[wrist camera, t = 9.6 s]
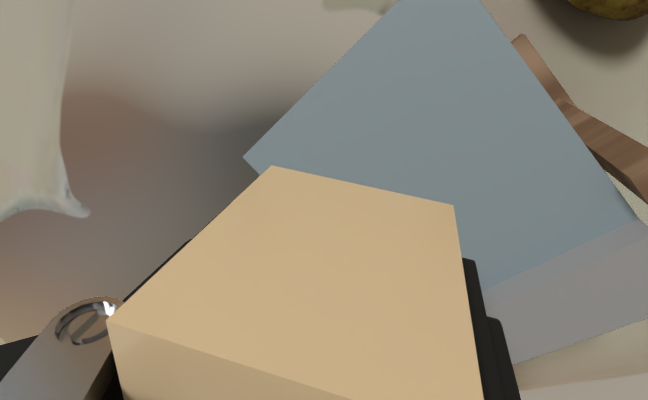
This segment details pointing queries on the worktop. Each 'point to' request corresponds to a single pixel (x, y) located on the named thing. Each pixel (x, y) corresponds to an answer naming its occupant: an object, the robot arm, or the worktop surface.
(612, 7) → the potato
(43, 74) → the worktop surface
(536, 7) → the worktop surface
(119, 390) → the robot arm
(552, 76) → the stand
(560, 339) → the trapdoor
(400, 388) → the tan block
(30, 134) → the worktop surface
